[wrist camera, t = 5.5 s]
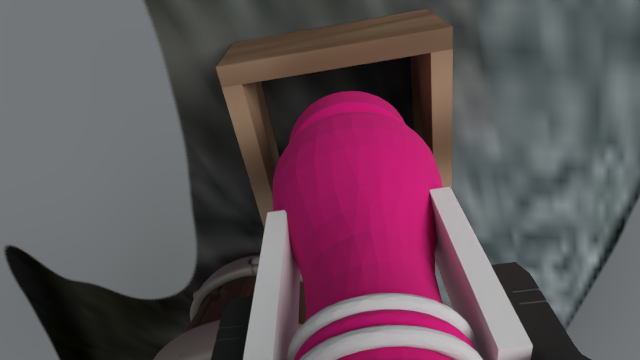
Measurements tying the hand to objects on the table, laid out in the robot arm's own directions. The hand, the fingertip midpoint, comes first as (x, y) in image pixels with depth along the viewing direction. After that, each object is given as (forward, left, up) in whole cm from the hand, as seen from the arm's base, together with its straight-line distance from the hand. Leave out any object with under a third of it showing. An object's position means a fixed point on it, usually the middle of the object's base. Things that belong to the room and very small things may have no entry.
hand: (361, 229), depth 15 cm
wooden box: (0, 0, -12) cm, 12 cm away
